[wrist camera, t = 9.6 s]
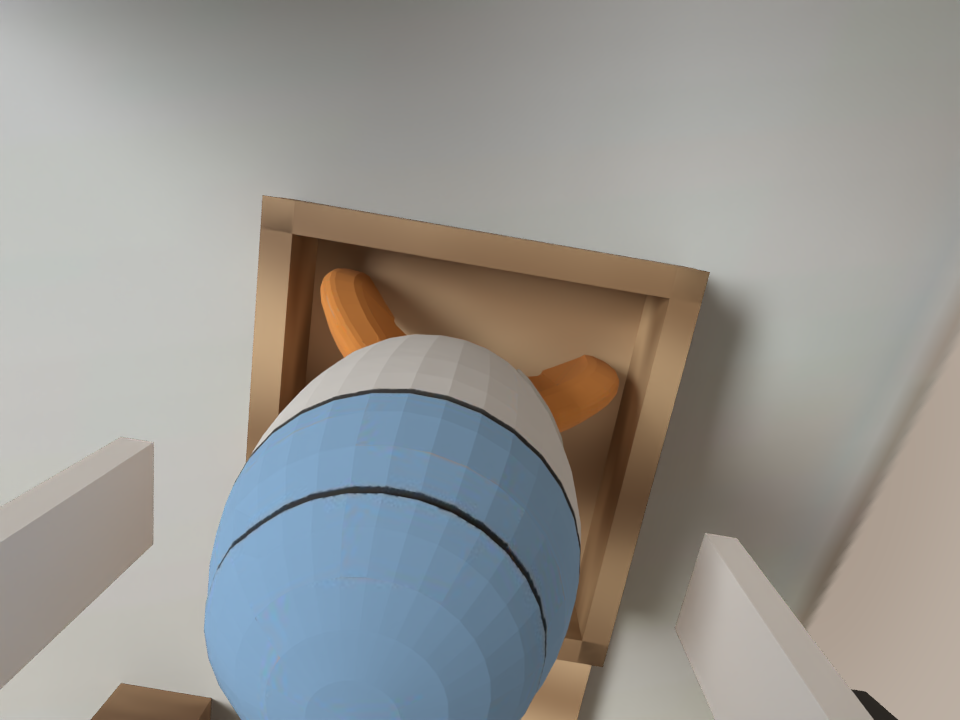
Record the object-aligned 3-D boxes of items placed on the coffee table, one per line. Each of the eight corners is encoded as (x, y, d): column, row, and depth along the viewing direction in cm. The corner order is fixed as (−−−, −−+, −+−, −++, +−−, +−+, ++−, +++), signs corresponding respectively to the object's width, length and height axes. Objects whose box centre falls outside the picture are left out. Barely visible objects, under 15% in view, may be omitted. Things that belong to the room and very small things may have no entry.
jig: (295, 199, 20) (246, 192, 16) (682, 266, 20) (725, 275, 16) (257, 685, 26) (214, 767, 22) (560, 736, 26) (571, 826, 22)
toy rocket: (618, 304, 20) (940, 720, 7) (506, 506, 24) (562, 1009, 11) (356, 198, 18) (56, 490, 5) (283, 439, 22) (15, 958, 9)
